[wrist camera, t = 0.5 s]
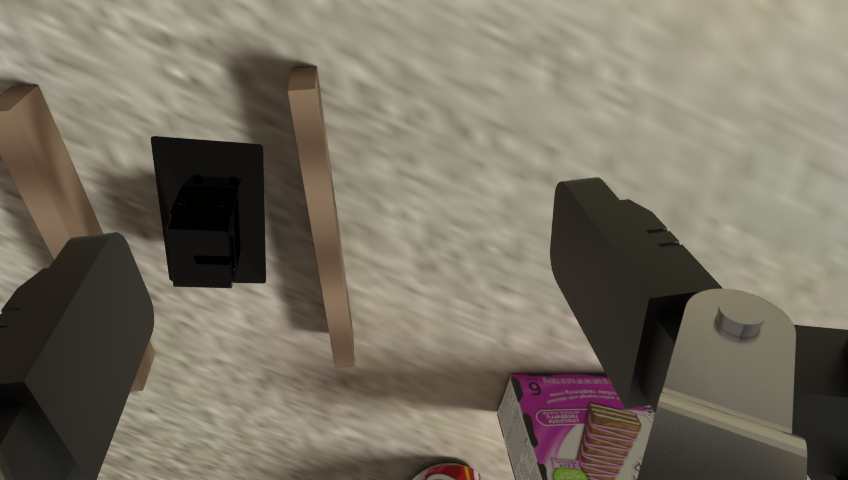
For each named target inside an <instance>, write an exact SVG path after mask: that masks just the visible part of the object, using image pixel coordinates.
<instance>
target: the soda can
mask: <svg viewBox="0 0 848 480" xmlns="http://www.w3.org/2000/svg"><path fill="white" fill-rule="evenodd" d="M412 480H482V477H481V475H480V474H479V473H478V472H477V471H476V470H474V469H472V468H470V467H467V466H463V465H461V464H457V463H441V464H437V465H433V466H431V467H428V468H426V469H425V470H423V471H422V472H421V473H420V474H418V475H417V476H416V477H414V478H413V479H412Z"/></svg>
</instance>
